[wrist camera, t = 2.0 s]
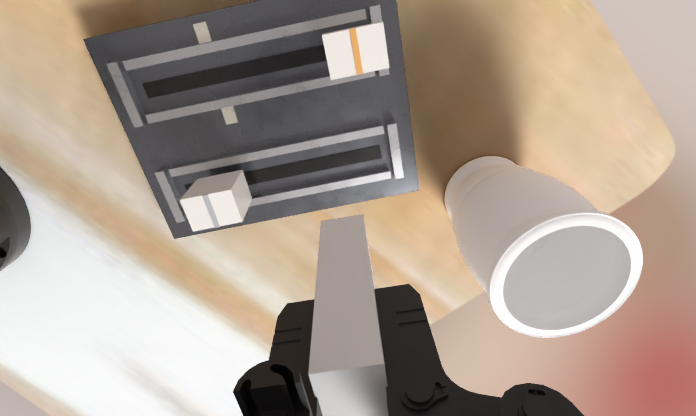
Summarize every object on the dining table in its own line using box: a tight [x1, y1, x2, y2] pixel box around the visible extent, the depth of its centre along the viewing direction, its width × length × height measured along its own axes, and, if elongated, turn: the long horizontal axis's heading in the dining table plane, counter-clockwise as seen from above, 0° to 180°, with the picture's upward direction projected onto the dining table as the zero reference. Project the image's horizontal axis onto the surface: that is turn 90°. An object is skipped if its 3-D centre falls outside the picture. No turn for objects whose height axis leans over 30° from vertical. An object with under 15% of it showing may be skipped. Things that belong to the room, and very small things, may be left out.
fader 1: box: [180, 170, 252, 232], centre depth 32 cm, size 4×3×6 cm
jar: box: [445, 156, 643, 338], centre depth 33 cm, size 11×10×15 cm
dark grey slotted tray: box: [83, 0, 419, 239], centre depth 33 cm, size 24×18×4 cm
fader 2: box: [322, 22, 389, 80], centre depth 27 cm, size 4×3×6 cm
